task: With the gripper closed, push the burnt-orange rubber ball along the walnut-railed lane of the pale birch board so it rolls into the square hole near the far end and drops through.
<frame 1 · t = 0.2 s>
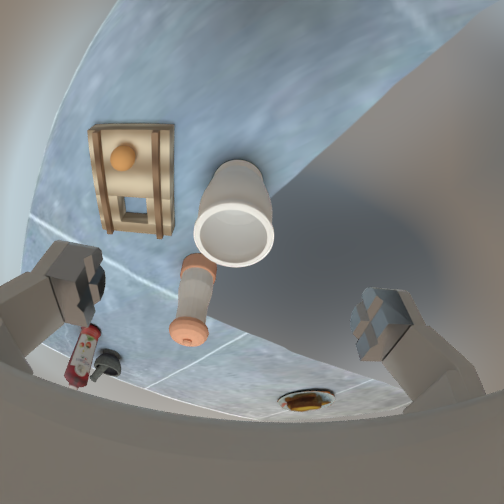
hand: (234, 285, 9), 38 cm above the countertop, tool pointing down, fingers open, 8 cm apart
mortar and pestle: (110, 352, 92), on the countertop
jar: (238, 181, 49), on the countertop
food on plate: (306, 397, 117), on the countertop
ball: (122, 158, 40), point 5 cm above the countertop, touching lane board
liquor: (92, 327, 81), on the countertop
lane board: (135, 177, 48), on the countertop
pepper shaker: (199, 265, 62), on the countertop
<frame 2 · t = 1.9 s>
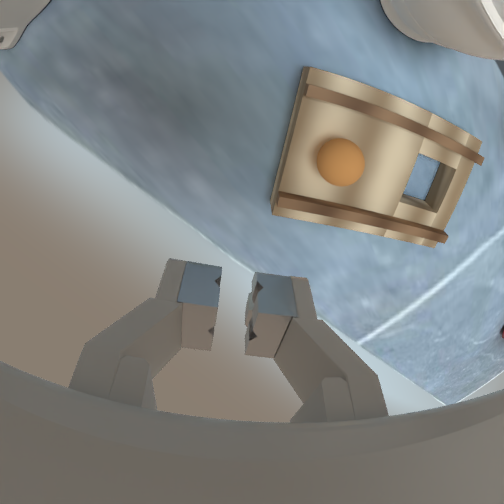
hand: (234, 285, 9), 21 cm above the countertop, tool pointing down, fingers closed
jar: (415, 6, 17), on the countertop
ball: (340, 162, 23), point 5 cm above the countertop, touching lane board
lane board: (379, 161, 27), on the countertop
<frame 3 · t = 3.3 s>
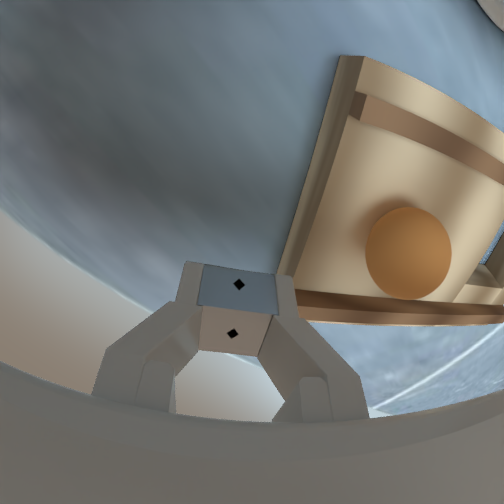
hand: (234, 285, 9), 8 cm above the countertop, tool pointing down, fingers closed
ball: (408, 253, 12), point 5 cm above the countertop, touching lane board
lane board: (442, 219, 16), on the countertop
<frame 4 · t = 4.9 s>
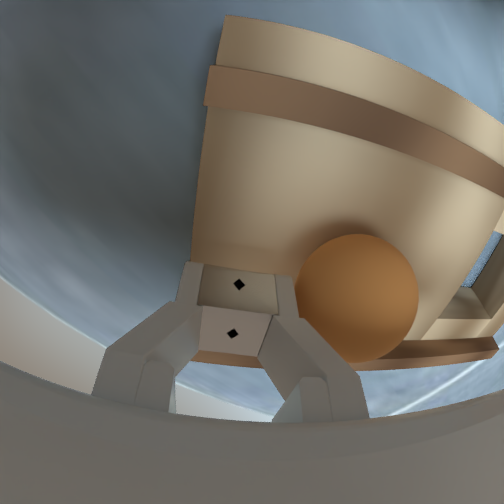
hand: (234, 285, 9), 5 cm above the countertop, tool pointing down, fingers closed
ball: (356, 298, 9), point 5 cm above the countertop, tilted 34°, touching lane board
lane board: (408, 235, 13), on the countertop
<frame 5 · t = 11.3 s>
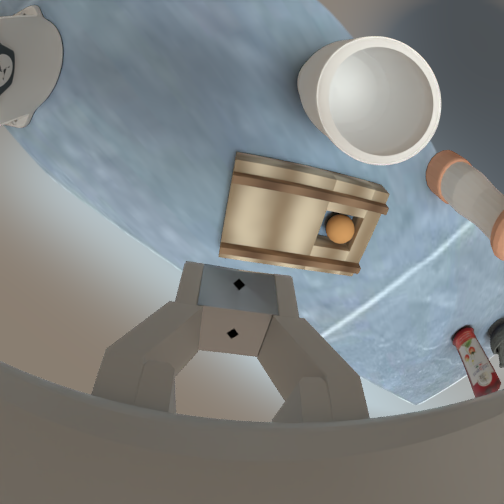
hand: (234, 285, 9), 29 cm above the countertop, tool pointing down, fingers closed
mortar and pestle: (495, 326, 61), on the countertop
jar: (331, 84, 30), on the countertop
ball: (340, 229, 39), point 2 cm above the countertop
liquor: (461, 332, 60), on the countertop
lane board: (300, 214, 40), on the countertop
pepper shaker: (444, 172, 36), on the countertop
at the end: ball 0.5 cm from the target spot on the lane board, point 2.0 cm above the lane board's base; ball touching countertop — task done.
